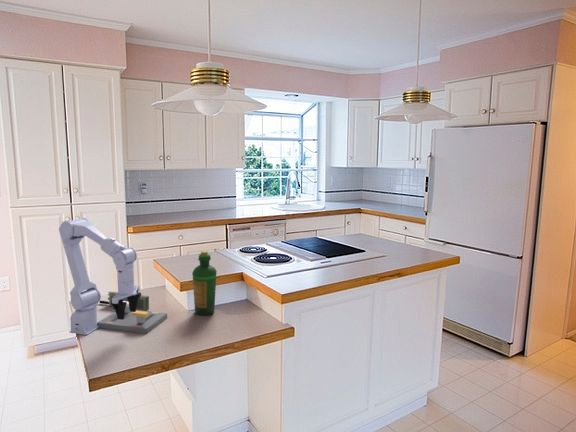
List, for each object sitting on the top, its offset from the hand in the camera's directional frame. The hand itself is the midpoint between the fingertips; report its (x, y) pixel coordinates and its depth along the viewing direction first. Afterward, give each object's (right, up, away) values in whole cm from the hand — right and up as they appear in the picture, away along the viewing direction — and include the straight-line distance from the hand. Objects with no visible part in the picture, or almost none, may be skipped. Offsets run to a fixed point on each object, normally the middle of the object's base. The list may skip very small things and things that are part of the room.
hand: (127, 315), depth 152 cm
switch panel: (-3, -7, +15) cm, 17 cm away
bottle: (+24, -6, +28) cm, 37 cm away
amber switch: (+2, -5, +10) cm, 11 cm away
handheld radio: (-14, -5, +32) cm, 35 cm away
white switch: (-8, -3, +20) cm, 22 cm away
